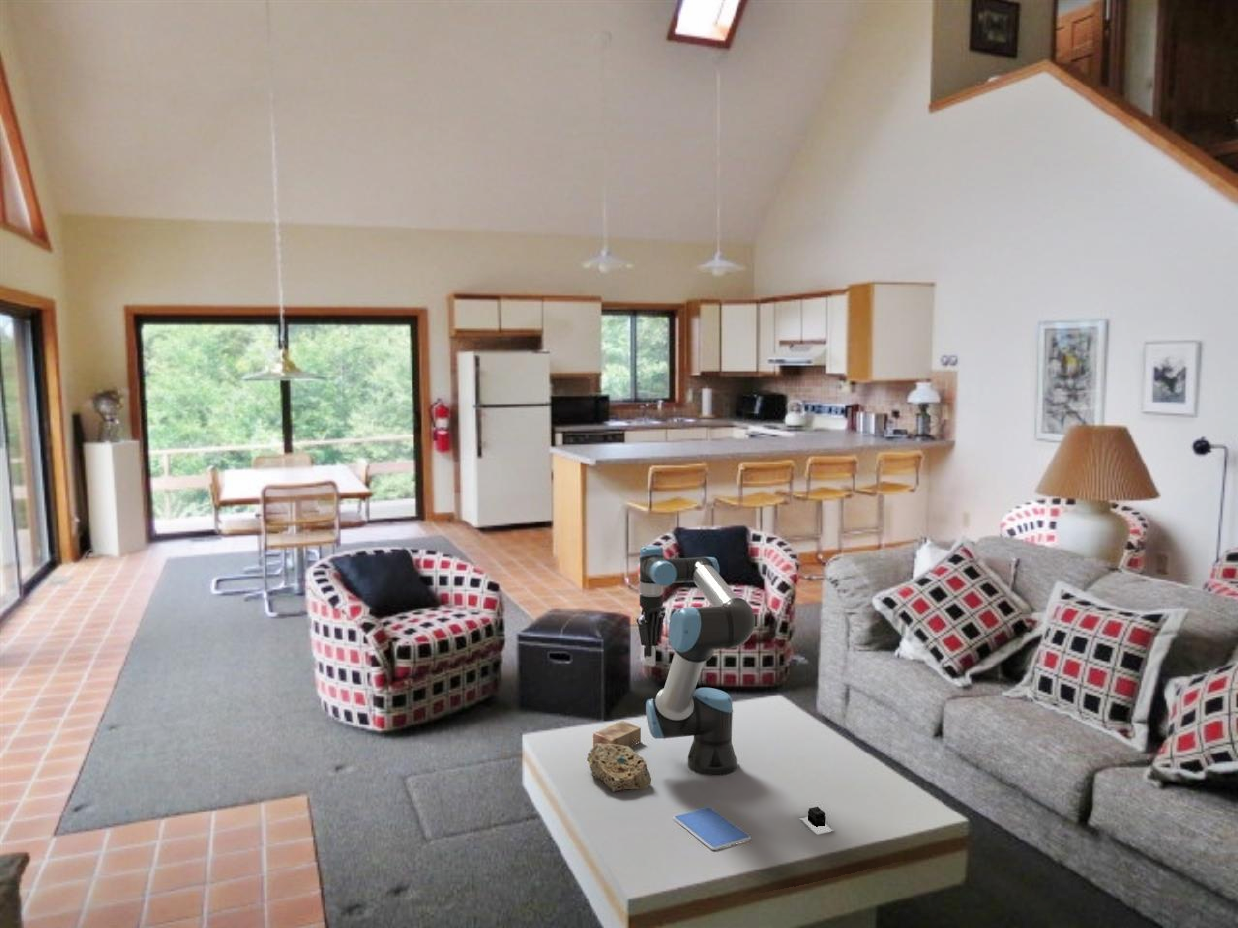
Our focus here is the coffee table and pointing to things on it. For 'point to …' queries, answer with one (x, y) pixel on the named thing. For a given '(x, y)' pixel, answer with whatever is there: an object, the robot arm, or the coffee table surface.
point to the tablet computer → (711, 828)
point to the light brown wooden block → (618, 734)
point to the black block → (816, 816)
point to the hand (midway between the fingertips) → (650, 665)
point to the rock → (618, 767)
